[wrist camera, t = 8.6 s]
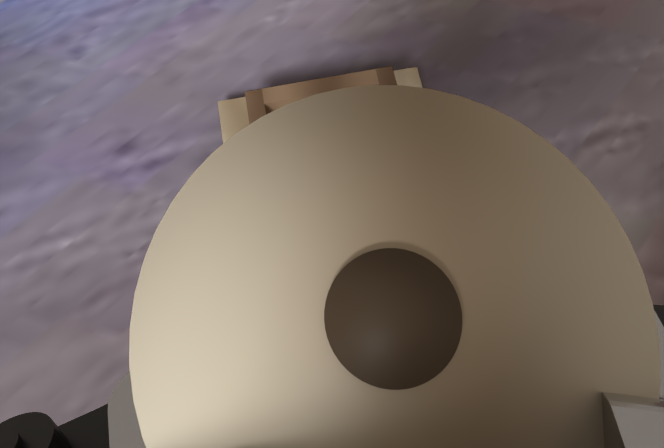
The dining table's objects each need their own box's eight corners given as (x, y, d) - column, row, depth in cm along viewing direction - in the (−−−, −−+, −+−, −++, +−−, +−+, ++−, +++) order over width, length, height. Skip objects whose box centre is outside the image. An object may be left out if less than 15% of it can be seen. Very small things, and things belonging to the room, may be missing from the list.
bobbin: (281, 429, 14) (139, 707, 4) (258, 253, 15) (114, 120, 5) (458, 395, 14) (764, 574, 4) (417, 225, 15) (565, 48, 5)
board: (243, 263, 27) (231, 256, 24) (222, 110, 30) (210, 87, 27) (454, 223, 28) (467, 211, 25) (413, 76, 31) (421, 50, 28)
